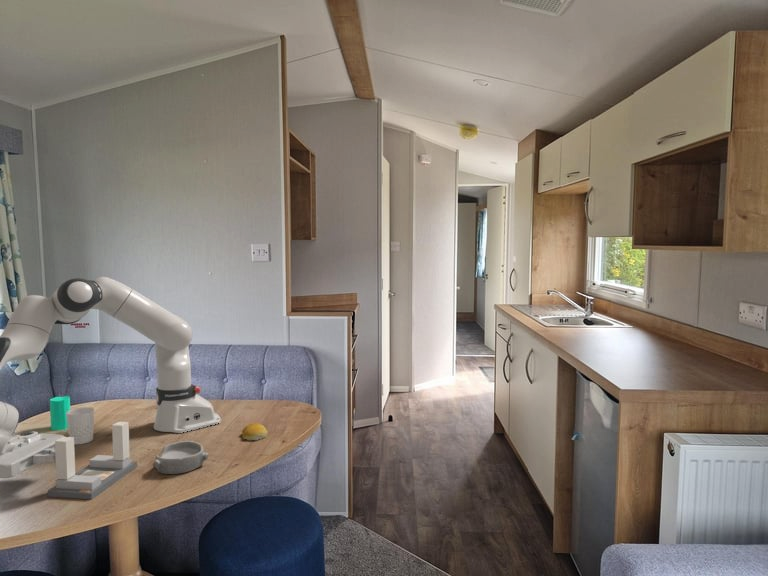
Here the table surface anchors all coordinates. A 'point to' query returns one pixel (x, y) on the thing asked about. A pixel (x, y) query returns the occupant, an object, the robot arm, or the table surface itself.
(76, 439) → the white cup
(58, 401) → the candle
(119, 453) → the rear knob
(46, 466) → the table surface
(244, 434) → the bread roll
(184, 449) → the dish
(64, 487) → the switch box
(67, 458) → the front knob
